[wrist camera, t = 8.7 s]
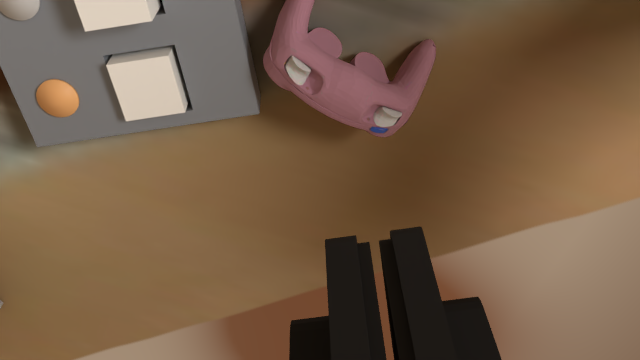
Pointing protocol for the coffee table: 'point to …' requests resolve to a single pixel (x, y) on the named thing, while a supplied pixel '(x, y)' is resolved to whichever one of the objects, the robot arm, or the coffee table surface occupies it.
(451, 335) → the robot arm
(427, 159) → the coffee table surface
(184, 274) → the coffee table surface
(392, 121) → the pink curved piece
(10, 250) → the coffee table surface
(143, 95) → the button
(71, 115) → the button board
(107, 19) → the button middle
